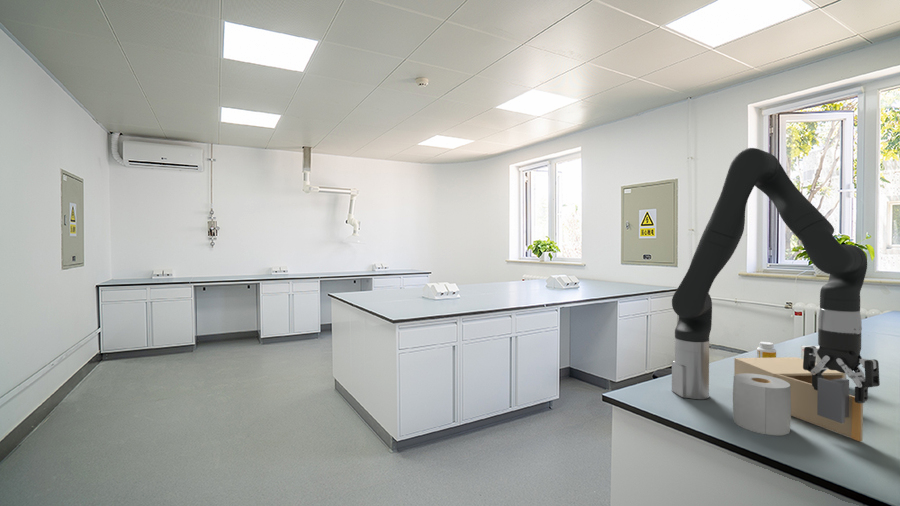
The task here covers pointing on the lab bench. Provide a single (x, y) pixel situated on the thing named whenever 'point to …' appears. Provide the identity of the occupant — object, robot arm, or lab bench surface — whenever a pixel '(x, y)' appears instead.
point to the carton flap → (827, 405)
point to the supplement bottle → (766, 350)
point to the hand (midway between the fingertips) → (838, 396)
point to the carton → (780, 368)
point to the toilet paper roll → (762, 404)
